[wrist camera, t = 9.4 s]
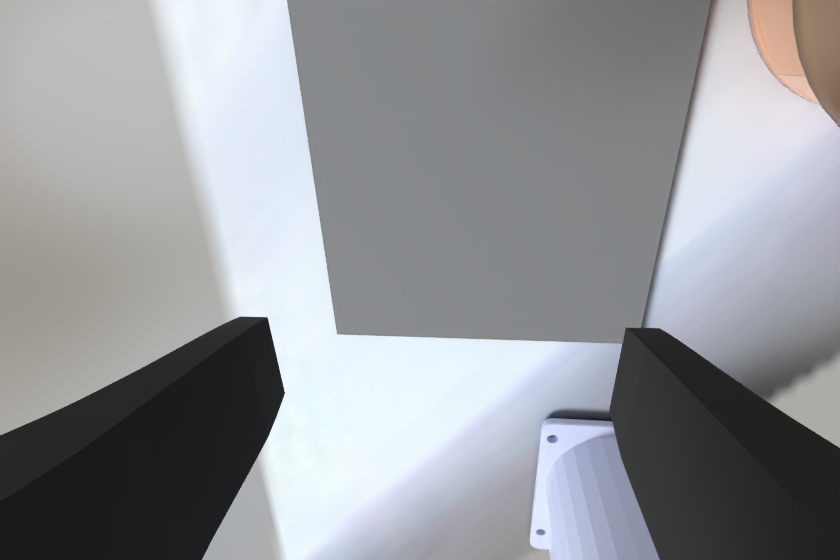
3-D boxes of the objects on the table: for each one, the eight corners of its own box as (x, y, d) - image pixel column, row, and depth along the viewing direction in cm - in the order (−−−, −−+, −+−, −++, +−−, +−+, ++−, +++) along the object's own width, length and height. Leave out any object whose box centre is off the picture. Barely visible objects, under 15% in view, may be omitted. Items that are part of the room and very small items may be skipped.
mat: (634, 338, 19) (637, 344, 19) (339, 329, 21) (337, 334, 20) (711, -28, 13) (717, -30, 13) (291, -1, 15) (286, -2, 14)
